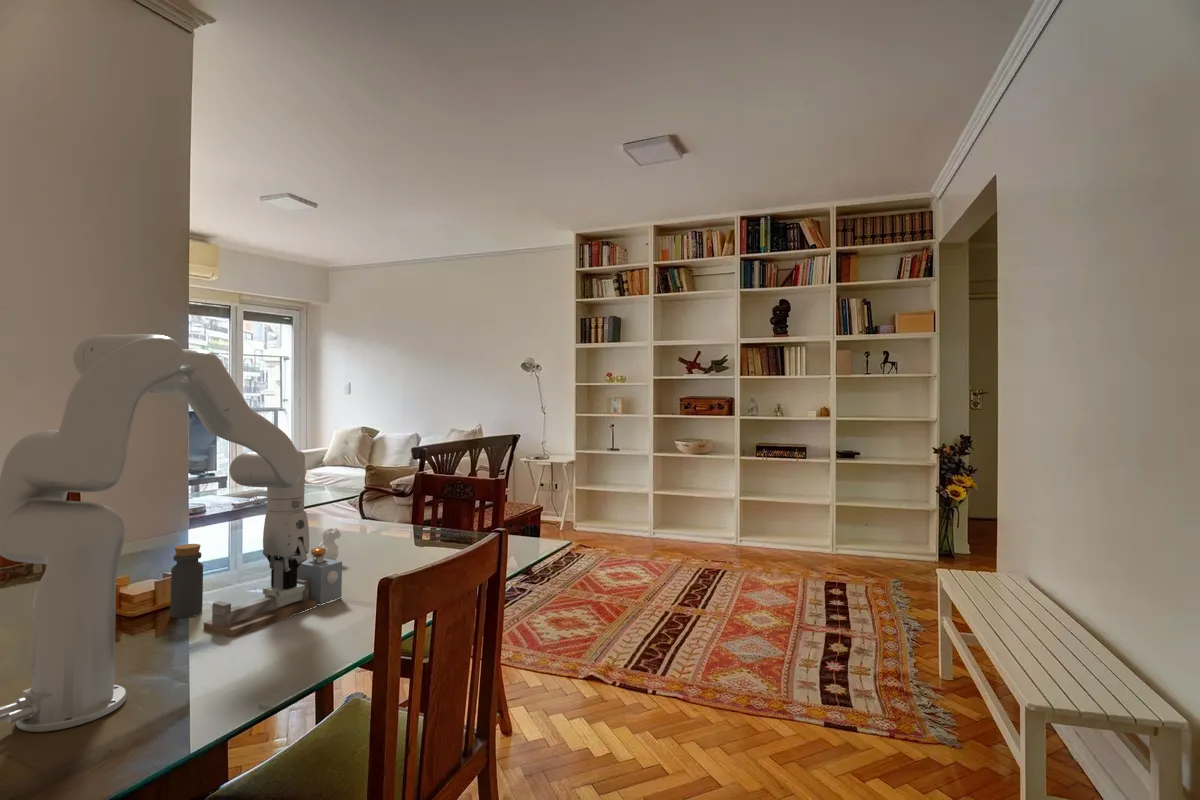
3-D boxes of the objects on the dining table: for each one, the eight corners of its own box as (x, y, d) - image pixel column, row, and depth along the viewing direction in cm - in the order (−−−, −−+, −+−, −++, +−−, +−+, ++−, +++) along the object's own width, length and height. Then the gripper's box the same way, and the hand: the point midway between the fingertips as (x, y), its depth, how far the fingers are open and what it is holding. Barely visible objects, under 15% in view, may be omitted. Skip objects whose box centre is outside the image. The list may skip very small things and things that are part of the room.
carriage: (280, 607, 132) (281, 564, 132) (262, 603, 135) (263, 561, 135) (304, 599, 138) (305, 558, 138) (286, 595, 140) (287, 555, 140)
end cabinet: (321, 606, 140) (322, 567, 140) (293, 600, 144) (294, 562, 144) (342, 599, 145) (343, 561, 145) (314, 593, 149) (315, 556, 149)
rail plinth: (231, 637, 121) (232, 607, 121) (203, 629, 125) (204, 601, 125) (316, 607, 139) (317, 581, 139) (289, 601, 143) (290, 576, 143)
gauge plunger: (317, 574, 142) (317, 551, 142) (307, 573, 144) (308, 550, 144) (328, 571, 145) (328, 548, 145) (318, 569, 147) (319, 547, 147)
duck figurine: (328, 575, 172) (355, 542, 175) (305, 562, 169) (333, 527, 172) (324, 565, 182) (349, 534, 185) (302, 552, 179) (328, 520, 182)
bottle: (186, 619, 130) (187, 550, 130) (163, 617, 131) (164, 548, 131) (208, 610, 136) (210, 543, 136) (186, 608, 137) (188, 542, 137)
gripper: (325, 505, 136) (323, 587, 136) (276, 499, 143) (274, 577, 143) (296, 510, 129) (294, 596, 129) (246, 504, 136) (244, 585, 136)
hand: (284, 585), depth 136 cm, fingers closed on carriage, 3 cm apart
